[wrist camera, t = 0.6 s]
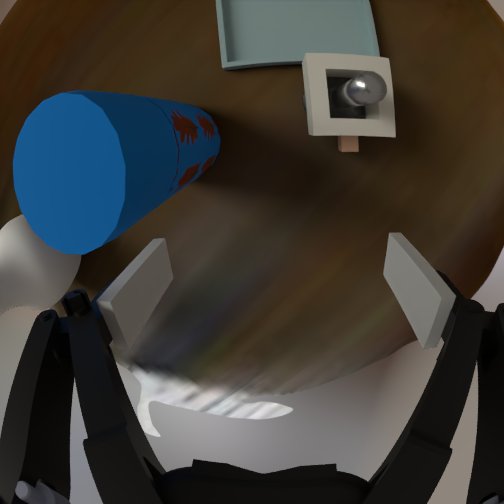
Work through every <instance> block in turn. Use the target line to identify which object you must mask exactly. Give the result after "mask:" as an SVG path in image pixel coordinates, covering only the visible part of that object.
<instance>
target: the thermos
mask: <svg viewBox="0 0 504 504" xmlns="http://www.w3.org/2000/svg"><path fill="white" fill-rule="evenodd" d="M220 140H221V139H220V134H219V130H218V126H217V125H216V123H215V122H214V120H213V119H212V117H211V116H210V115H209V114H207V113H206V112H204V111H203V110H202V109H200V108H198V107H195V106H192V105H188V104H184V103H180V102H174V101H169V100H163V99H157V98H151V97H144V96H137V95H129V94H120V93H111V92H100V91H86V90H77V91H70V92H64V93H60V94H58V95H56V96H53V97H51V98H49V99H46V100H44V101H42V102H41V103H40V104H39V106H38V107H37V108H36V109H35V110H34V111H33V112H32V113H31V114H30V115H29V116H28V117H27V119H26V121H25V123H24V126H23V128H22V130H21V132H20V134H19V136H18V139H17V143H16V148H15V154H14V160H13V174H14V188H15V191H16V195H17V199H18V202H19V205H20V209H21V211H22V213H23V215H24V217H25V218H26V220H27V222H28V224H29V225H30V227H31V229H32V230H33V231H34V232H35V233H36V234H37V235H38V236H39V237H40V238H41V239H42V240H43V241H44V242H45V243H46V244H47V245H48V246H50V247H52V248H54V249H56V250H58V251H60V252H62V253H64V254H83V255H84V254H86V253H88V252H90V251H92V250H94V249H96V248H98V247H100V246H102V245H104V244H106V243H108V242H110V241H112V240H114V239H115V238H117V237H119V236H120V235H121V234H122V233H124V232H125V231H126V230H127V229H129V228H130V227H131V226H132V225H134V224H135V223H136V222H138V221H139V220H140V219H142V218H143V217H144V216H145V215H147V214H148V213H149V212H151V211H152V210H153V209H155V208H156V207H158V206H159V205H160V204H162V203H163V202H164V201H166V200H167V199H168V198H170V197H171V196H173V195H174V194H175V193H177V192H178V191H180V190H181V189H183V188H184V187H185V186H187V185H188V184H190V183H191V182H193V181H194V180H196V179H197V178H198V177H199V176H200V175H201V174H202V173H204V172H205V171H206V170H207V169H208V168H209V167H210V166H211V165H212V164H213V163H214V161H215V159H216V157H217V155H218V153H219V148H220Z"/></svg>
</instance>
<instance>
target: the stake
mask: <svg viewBox="0 0 504 504" xmlns="http://www.w3.org/2000/svg"><path fill="white" fill-rule="evenodd" d="M326 80H327V89H328V100H329V111H330V118H347V119H366V113H365V105H366V104H371V103H376V102H379V101H381V100H383V99H384V98H385V96H386V94H387V85H386V83H385V81H384V79H383V78H382V77H381V76H380V75H379V74H377V73H375V72H372V71H365V72H362V73H360V74H359V75H357V76H356V77H354V78H347V77H326ZM303 105H304V108H305V111H306V113H307V107H306V96H305V88H304V92H303Z"/></svg>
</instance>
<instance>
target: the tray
mask: <svg viewBox="0 0 504 504" xmlns="http://www.w3.org/2000/svg"><path fill="white" fill-rule="evenodd" d="M216 9H217V19H218V30H219V40H220V50H221V60H222V68H223V69H224V70H225V71H226V70H234V69H242V68H251V67H261V66H274V65H295V64H302V62H303V59H304V56H305V53H337V54H354V55H366V56H375V57H380V54H379V48H378V42H377V36H376V31H375V26H374V21H373V16H372V11H371V7H370V3H369V0H216Z"/></svg>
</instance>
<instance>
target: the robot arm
mask: <svg viewBox="0 0 504 504" xmlns="http://www.w3.org/2000/svg"><path fill="white" fill-rule="evenodd" d="M383 275H384V277H385V279H386V280H387V282H388V284H389V286H390V287H391V289H392V291H393V293H394V294H395V296H396V298H397V300H398V302H399V303H400V305H401V307H402V309H403V311H404V313H405V315H406V317H407V318H408V320H409V322H410V324H411V326H412V328H413V330H414V332H415V334H416V336H417V338H418V340H419V342H420V344H421V346H422V348H423V349H428V348H434V347H437V345H438V343H439V340H440V338H441V337H442V339H443V341H444V345H443V347H442V349H441V352H440V354H439V356H438V358H437V362H436V365H435V367H434V370H433V372H432V374H431V377H430V379H429V381H428V383H427V385H426V388H425V390H424V392H423V394H422V396H421V398H420V400H419V402H418V404H417V406H416V408H415V410H414V412H413V414H412V416H411V417H410V419H409V421H408V423H407V425H406V426H405V428H404V430H403V432H402V434H401V435H400V437H399V438H398V440H397V442H396V443H395V445H394V447H393V448H392V450H391V451H390V453H389V455H388V456H387V457H386V459H385V460H384V462H383V463H382V465H381V466H380V468H379V469H378V470H377V471H376V473H375V474H374V475H373V476H372V478H371V479H370V480H369V481H368V482H367V481H366V480H364V479H362V478H360V477H358V476H356V475H353V474H350V473H346V472H340V471H337V469H336V464H325V465H310V466H299V467H294V468H290V469H286V470H281V471H277V472H271V473H266V474H261V473H257V472H254V471H250V470H247V469H243V468H240V467H236V466H233V465H230V464H227V463H218V462H209V461H202V460H195V459H194V460H193V464H192V467H184V468H178V469H175V470H171V471H169V472H166V471H165V470H164V468H163V467H162V465H161V464H160V463H159V461H158V459H157V457H156V456H155V454H154V452H153V450H152V448H151V446H150V444H149V442H148V440H147V438H146V436H145V434H144V431H143V429H142V427H141V425H140V423H139V421H138V418H137V416H136V414H135V412H134V409H133V407H132V404H131V402H130V400H129V397H128V395H127V392H126V390H125V387H124V384H123V382H122V379H121V376H120V374H119V371H118V368H117V365H116V362H115V359H114V356H113V353H112V350H111V348H110V346H109V344H110V343H111V341H112V340H113V341H114V344H115V346H116V348H117V349H122V350H129V351H130V350H131V348H132V347H133V345H134V343H135V341H136V340H137V338H138V336H139V334H140V333H141V331H142V329H143V328H144V326H145V324H146V323H147V321H148V319H149V318H150V316H151V314H152V313H153V311H154V309H155V308H156V306H157V304H158V303H159V301H160V299H161V298H162V296H163V294H164V293H165V291H166V290H167V288H168V286H169V285H170V283H171V282H172V280H173V274H172V269H171V265H170V260H169V255H168V250H167V245H166V240H165V238H161V239H153V240H152V241H151V242H150V243H149V244H148V245H147V246H146V247H145V248H144V249H143V250H142V251H141V253H140V254H139V255H138V256H137V257H136V258H135V259H134V260H133V261H132V262H131V263H130V264H129V265H128V266H127V267H126V268H125V270H124V271H123V272H122V273H121V274H120V275H119V276H118V277H116V278H114V279H113V280H111V281H110V282H108V283H107V285H106V286H105V287H104V288H103V289H102V290H101V291H100V293H98V295H97V296H96V297H95V298H94V299H93V300H92V301H91V302H90V300H89V298H88V295H87V293H86V291H85V290H83V289H77V290H73V291H71V292H69V293H67V294H66V295H65V296H64V297H63V298H62V300H61V302H62V305H63V307H64V309H65V311H66V314H67V316H68V317H61V318H59V317H58V314H57V312H56V311H55V310H53V309H50V310H45V311H43V312H41V313H40V314H39V315H38V316H37V318H36V319H35V322H34V324H33V326H32V329H31V331H30V334H29V336H28V339H27V341H26V344H25V347H24V350H23V352H22V355H21V358H20V361H19V364H18V367H17V370H16V374H15V377H14V380H13V384H12V387H11V391H10V395H9V399H8V403H7V407H6V411H5V417H4V421H3V426H2V431H1V438H0V504H70V502H69V499H70V488H71V486H70V422H71V407H72V394H73V385H74V377H75V382H76V387H77V392H78V398H79V402H80V407H81V412H82V416H83V420H84V424H85V428H86V432H87V435H88V439H84V441H83V445H84V450H85V454H86V457H87V460H88V464H89V467H90V470H91V473H92V476H93V478H94V481H95V484H96V487H97V489H98V492H99V494H100V497H101V499H102V502H103V504H427V502H428V501H429V499H430V497H431V495H432V493H433V492H434V490H435V488H436V486H437V484H438V482H439V480H440V479H441V477H442V475H443V472H444V470H445V468H446V466H447V464H448V462H449V460H450V457H451V454H452V449H451V448H450V444H451V441H452V439H453V436H454V434H455V431H456V429H457V426H458V423H459V420H460V418H461V415H462V412H463V409H464V406H465V403H466V399H467V396H468V393H469V389H470V386H471V382H472V378H473V374H474V370H475V366H476V362H477V365H478V422H477V435H476V445H475V454H474V461H473V467H472V473H471V479H470V484H469V489H468V495H467V501H466V504H504V303H501V304H499V305H498V306H497V309H496V311H495V312H488V311H485V310H484V307H483V306H482V305H481V304H480V303H479V302H477V301H475V300H471V299H465V298H464V296H463V295H462V294H461V293H460V291H459V290H458V289H457V288H456V287H454V284H453V283H452V282H451V281H450V280H449V278H448V277H447V276H446V275H445V274H443V273H442V272H440V271H438V270H436V271H435V270H434V269H433V268H432V266H431V265H430V264H429V263H428V262H427V261H426V260H425V259H424V257H423V256H422V255H421V254H420V253H419V252H418V251H417V250H416V249H415V247H414V246H413V245H412V244H411V243H410V242H409V241H408V240H407V239H406V238H405V237H404V236H403V235H402V234H401V233H389V238H388V245H387V253H386V259H385V266H384V272H383Z"/></svg>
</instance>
